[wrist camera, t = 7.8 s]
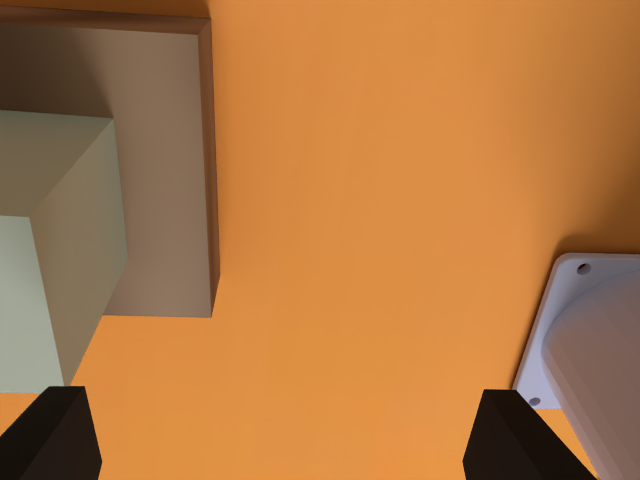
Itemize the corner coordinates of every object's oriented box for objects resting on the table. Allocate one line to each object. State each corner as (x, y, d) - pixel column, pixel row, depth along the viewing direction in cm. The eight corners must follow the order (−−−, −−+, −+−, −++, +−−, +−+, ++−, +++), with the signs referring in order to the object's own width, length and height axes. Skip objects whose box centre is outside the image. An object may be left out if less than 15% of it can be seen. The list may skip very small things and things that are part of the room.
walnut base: (213, 15, 16) (197, 35, 13) (221, 267, 21) (211, 317, 18) (-107, -5, 15) (-188, 11, 13) (-24, 260, 20) (-71, 310, 17)
